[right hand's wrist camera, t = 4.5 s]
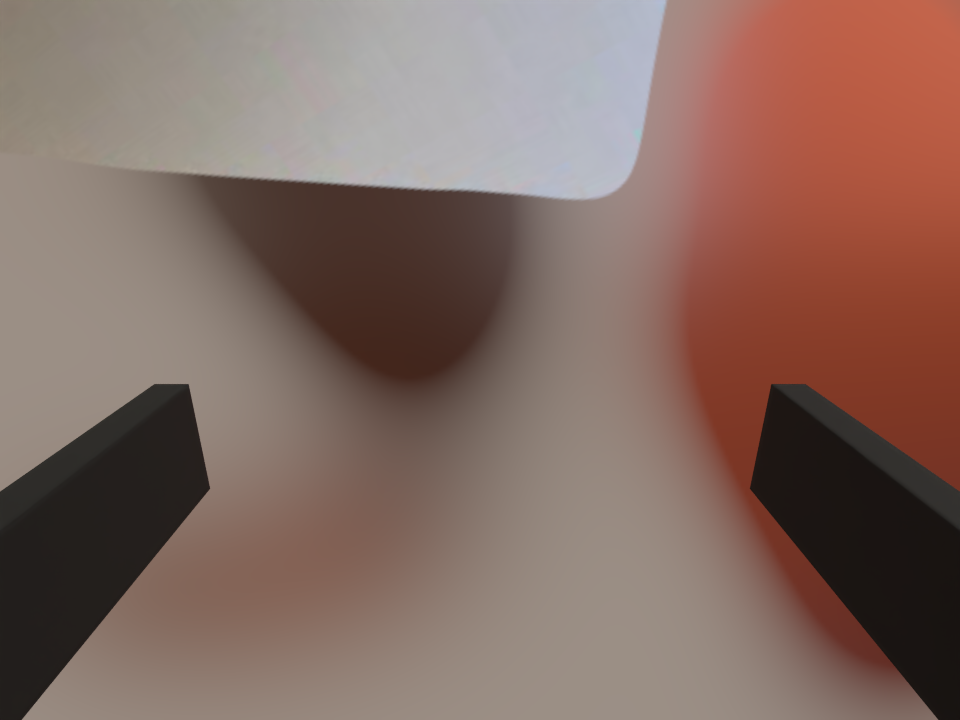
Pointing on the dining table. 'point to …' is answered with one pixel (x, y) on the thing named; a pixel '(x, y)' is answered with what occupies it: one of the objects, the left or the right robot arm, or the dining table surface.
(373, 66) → the dining table surface
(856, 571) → the right robot arm
